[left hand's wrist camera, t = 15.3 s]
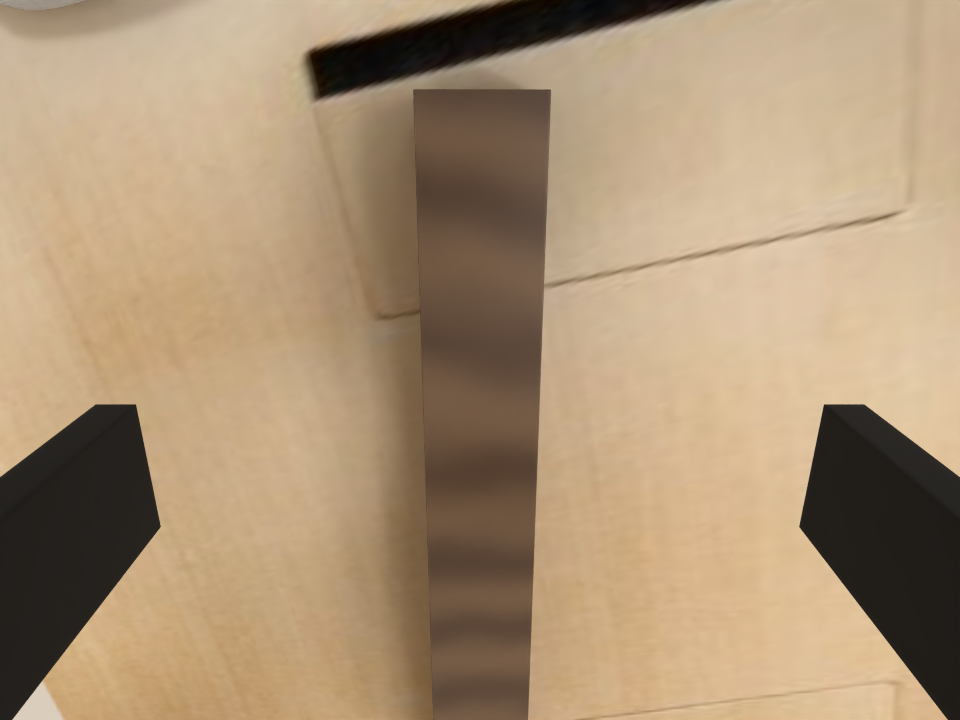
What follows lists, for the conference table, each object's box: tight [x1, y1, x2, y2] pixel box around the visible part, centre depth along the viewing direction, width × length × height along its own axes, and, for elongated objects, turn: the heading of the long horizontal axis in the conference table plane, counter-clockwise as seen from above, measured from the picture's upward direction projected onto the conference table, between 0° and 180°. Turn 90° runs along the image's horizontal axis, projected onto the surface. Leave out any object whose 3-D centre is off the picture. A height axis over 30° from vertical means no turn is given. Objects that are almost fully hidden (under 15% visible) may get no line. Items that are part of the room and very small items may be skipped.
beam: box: [413, 89, 551, 720], centre depth 41 cm, size 47×6×8 cm, turn 0°
